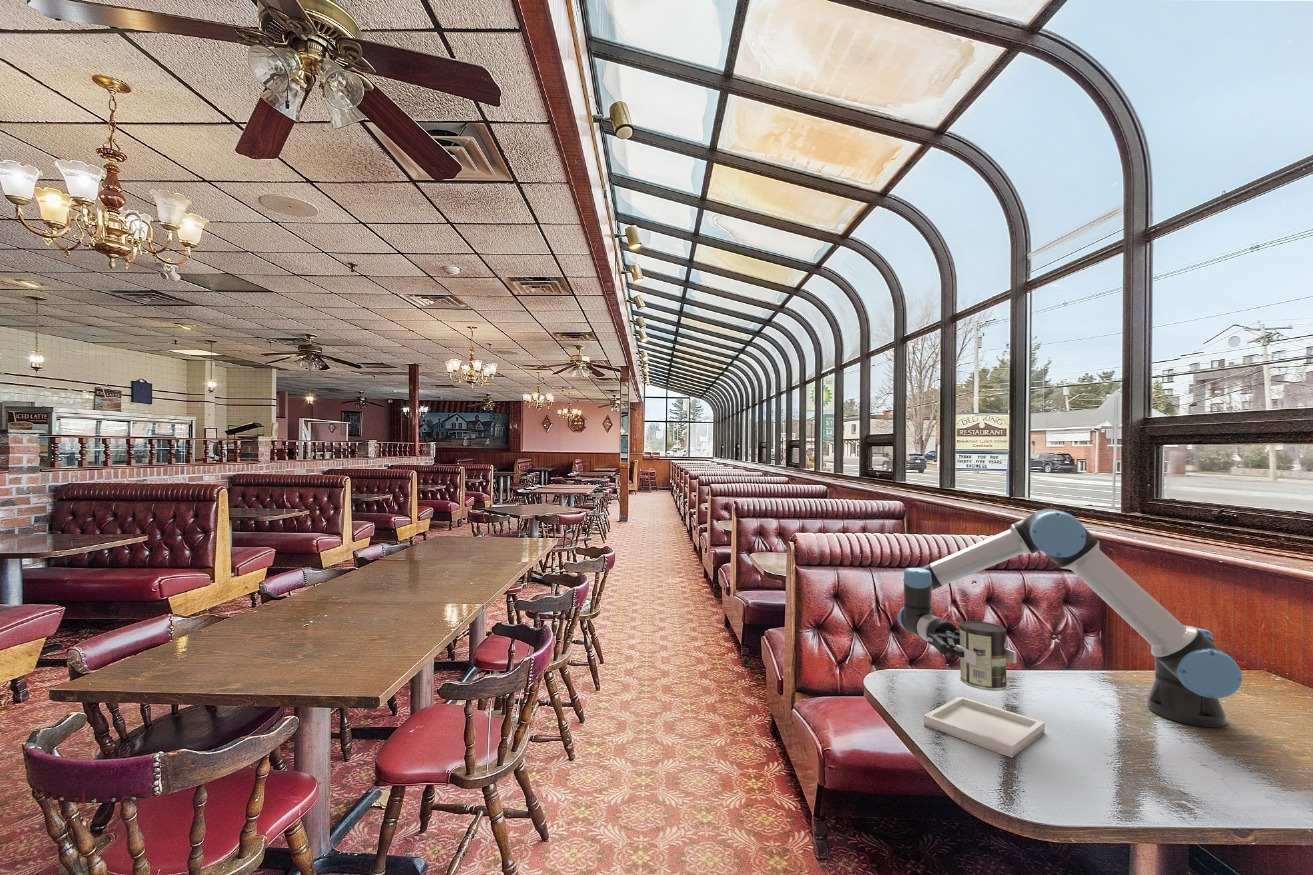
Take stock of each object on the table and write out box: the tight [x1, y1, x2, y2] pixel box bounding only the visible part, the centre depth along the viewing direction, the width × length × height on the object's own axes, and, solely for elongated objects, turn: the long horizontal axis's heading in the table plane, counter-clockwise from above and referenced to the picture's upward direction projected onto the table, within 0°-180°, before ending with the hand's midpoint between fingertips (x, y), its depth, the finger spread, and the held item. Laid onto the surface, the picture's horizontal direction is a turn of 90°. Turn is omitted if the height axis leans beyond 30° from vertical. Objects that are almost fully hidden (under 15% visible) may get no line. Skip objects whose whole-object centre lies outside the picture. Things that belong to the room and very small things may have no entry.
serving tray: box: [923, 695, 1046, 759], centre depth 141 cm, size 20×20×2 cm
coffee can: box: [958, 620, 1008, 692], centre depth 143 cm, size 10×10×14 cm
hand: (995, 658), depth 138 cm, fingers closed on coffee can, 10 cm apart
